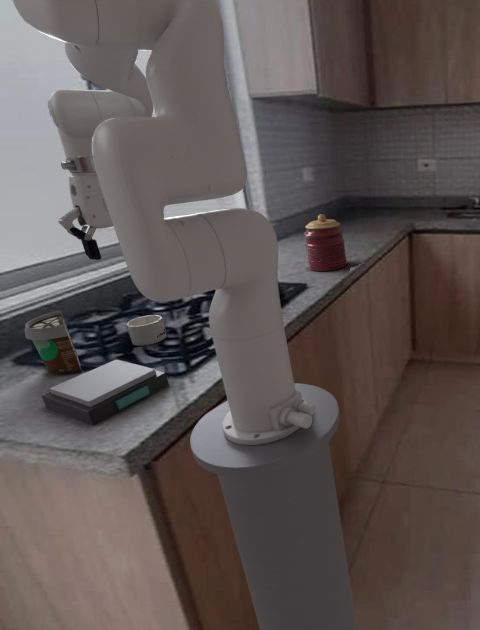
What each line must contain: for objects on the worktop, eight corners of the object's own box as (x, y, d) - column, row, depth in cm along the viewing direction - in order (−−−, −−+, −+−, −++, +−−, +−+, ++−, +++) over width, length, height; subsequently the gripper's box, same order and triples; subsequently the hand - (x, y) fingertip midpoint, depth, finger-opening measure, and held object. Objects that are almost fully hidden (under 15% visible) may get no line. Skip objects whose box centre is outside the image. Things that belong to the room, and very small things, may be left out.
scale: (171, 385, 78) (166, 368, 77) (95, 426, 67) (87, 407, 66) (123, 372, 84) (118, 356, 83) (46, 408, 73) (38, 390, 72)
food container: (40, 363, 90) (21, 317, 86) (77, 353, 93) (60, 309, 90) (41, 385, 81) (20, 335, 77) (82, 373, 84) (64, 325, 81)
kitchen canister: (309, 263, 156) (302, 213, 149) (346, 260, 157) (341, 210, 151) (307, 273, 144) (299, 218, 137) (347, 269, 146) (341, 215, 139)
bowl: (173, 335, 100) (168, 316, 98) (145, 347, 94) (139, 328, 93) (153, 331, 103) (148, 313, 101) (125, 343, 97) (119, 324, 96)
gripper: (54, 170, 76) (86, 265, 83) (148, 163, 91) (169, 245, 97) (31, 170, 79) (63, 262, 86) (125, 164, 94) (147, 243, 100)
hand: (119, 253), depth 91 cm, fingers open, 9 cm apart
